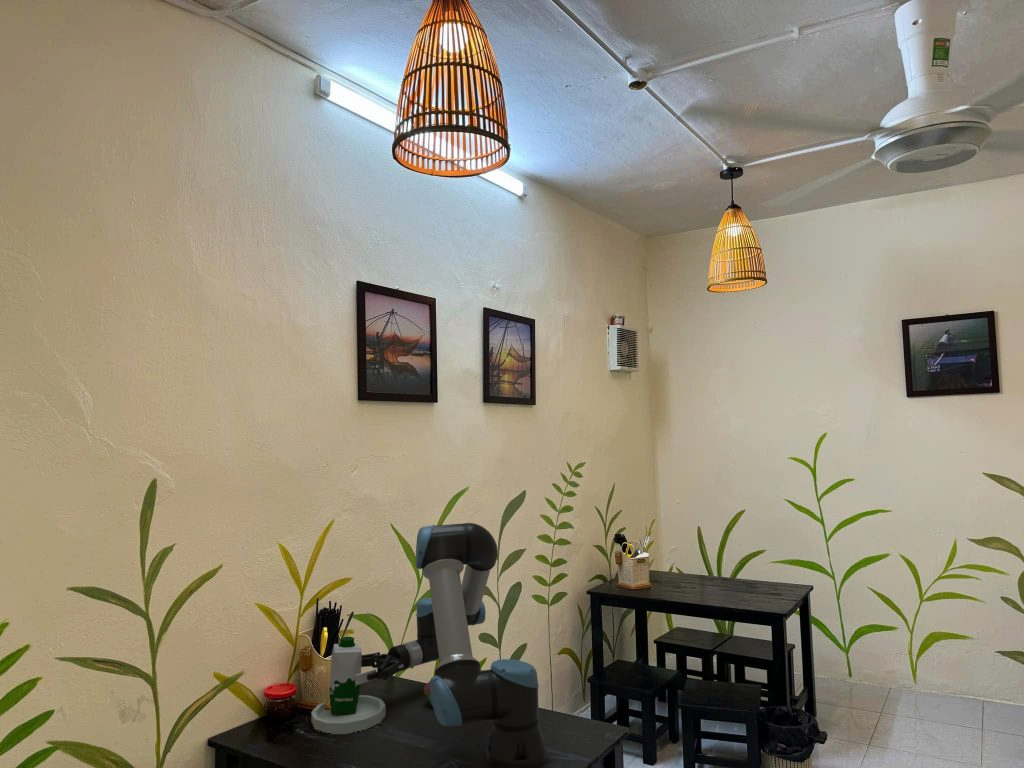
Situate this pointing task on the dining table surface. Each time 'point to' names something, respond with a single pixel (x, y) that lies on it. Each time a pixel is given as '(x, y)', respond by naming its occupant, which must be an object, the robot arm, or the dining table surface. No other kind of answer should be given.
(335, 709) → the soya milk
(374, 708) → the round tray
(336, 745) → the dining table surface
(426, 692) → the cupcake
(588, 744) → the dining table surface
